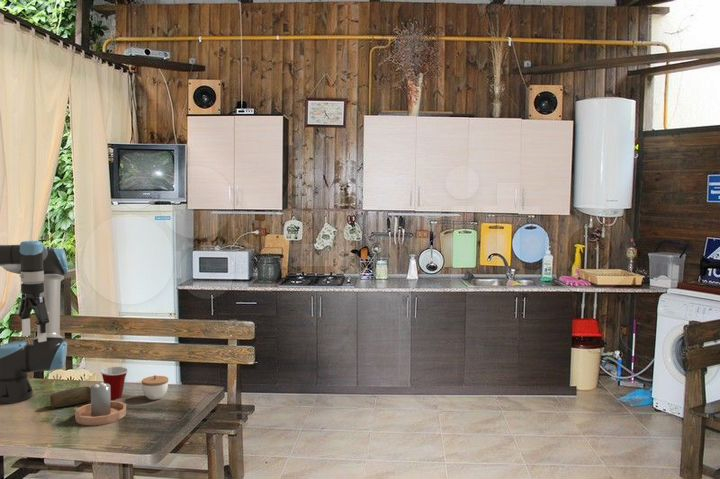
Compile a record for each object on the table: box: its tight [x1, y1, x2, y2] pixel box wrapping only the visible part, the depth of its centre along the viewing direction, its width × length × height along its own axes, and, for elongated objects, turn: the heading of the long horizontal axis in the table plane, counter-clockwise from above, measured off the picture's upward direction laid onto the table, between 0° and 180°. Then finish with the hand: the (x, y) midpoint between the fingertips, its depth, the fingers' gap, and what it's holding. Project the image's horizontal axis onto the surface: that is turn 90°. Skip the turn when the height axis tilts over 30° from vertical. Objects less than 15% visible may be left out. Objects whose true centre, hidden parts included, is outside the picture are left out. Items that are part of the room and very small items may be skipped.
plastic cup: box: [100, 366, 129, 400], centre depth 252 cm, size 11×11×12 cm
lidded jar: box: [141, 374, 169, 401], centre depth 252 cm, size 11×11×9 cm
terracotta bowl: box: [74, 400, 127, 426], centre depth 230 cm, size 18×18×3 cm
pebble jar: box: [90, 381, 112, 417], centre depth 229 cm, size 7×7×12 cm
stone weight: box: [49, 386, 91, 408], centre depth 242 cm, size 15×7×7 cm, turn 132°
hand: (34, 338), depth 222 cm, fingers open, 13 cm apart
